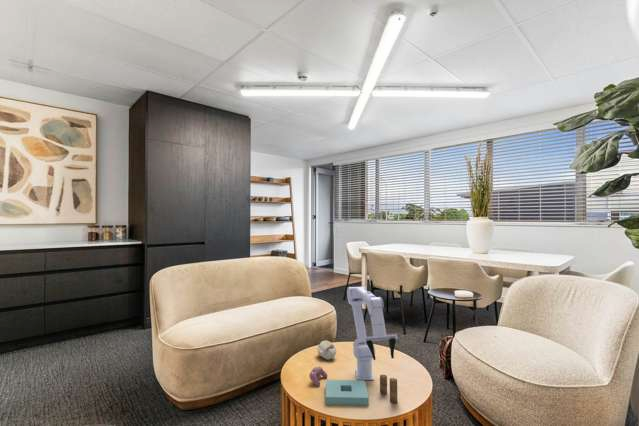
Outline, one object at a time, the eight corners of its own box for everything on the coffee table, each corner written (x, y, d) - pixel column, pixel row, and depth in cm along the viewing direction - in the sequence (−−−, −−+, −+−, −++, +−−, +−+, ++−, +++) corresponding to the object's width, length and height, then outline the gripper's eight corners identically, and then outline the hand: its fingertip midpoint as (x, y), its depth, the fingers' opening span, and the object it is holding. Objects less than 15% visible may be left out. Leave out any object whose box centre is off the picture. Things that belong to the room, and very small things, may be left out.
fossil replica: (330, 363, 162) (339, 358, 171) (332, 348, 163) (341, 343, 171) (312, 356, 169) (321, 351, 177) (314, 341, 170) (323, 337, 178)
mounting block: (326, 386, 139) (326, 379, 139) (364, 387, 138) (364, 380, 139) (325, 404, 125) (325, 396, 125) (368, 405, 124) (368, 397, 125)
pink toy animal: (321, 379, 149) (315, 365, 151) (328, 376, 147) (323, 362, 149) (312, 388, 140) (306, 373, 142) (320, 386, 138) (314, 371, 140)
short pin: (379, 390, 136) (379, 374, 136) (386, 390, 136) (386, 374, 136) (380, 394, 133) (380, 378, 133) (387, 394, 133) (387, 378, 133)
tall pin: (389, 399, 129) (388, 377, 129) (396, 399, 129) (396, 378, 129) (390, 403, 126) (390, 381, 126) (398, 403, 125) (398, 381, 126)
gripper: (362, 325, 128) (367, 360, 123) (396, 322, 128) (402, 357, 122) (361, 327, 135) (365, 360, 129) (393, 324, 135) (399, 357, 129)
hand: (383, 359), depth 126 cm, fingers open, 7 cm apart
